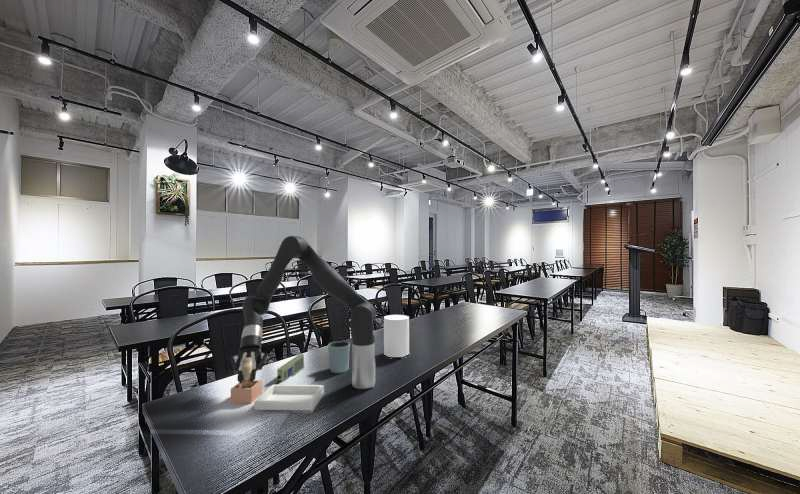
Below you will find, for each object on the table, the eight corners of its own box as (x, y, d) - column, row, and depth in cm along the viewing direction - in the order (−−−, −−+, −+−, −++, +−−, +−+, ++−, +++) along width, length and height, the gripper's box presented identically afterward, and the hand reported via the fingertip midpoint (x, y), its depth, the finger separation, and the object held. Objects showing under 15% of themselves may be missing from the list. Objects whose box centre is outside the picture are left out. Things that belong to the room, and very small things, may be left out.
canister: (382, 358, 156) (382, 319, 156) (385, 350, 169) (385, 314, 170) (409, 358, 155) (408, 319, 156) (409, 350, 169) (409, 314, 169)
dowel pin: (253, 395, 113) (253, 357, 113) (248, 399, 110) (249, 360, 110) (245, 395, 113) (245, 357, 113) (240, 399, 110) (240, 360, 110)
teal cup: (343, 375, 135) (343, 348, 135) (323, 372, 138) (323, 345, 138) (353, 366, 144) (353, 341, 145) (335, 364, 148) (335, 339, 148)
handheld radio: (305, 367, 144) (276, 391, 119) (299, 367, 145) (268, 391, 120) (304, 353, 144) (275, 374, 120) (298, 353, 145) (267, 374, 120)
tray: (323, 394, 116) (323, 385, 116) (312, 413, 102) (312, 402, 102) (272, 393, 117) (272, 384, 117) (254, 412, 103) (254, 402, 103)
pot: (261, 396, 115) (262, 380, 115) (251, 406, 107) (251, 389, 108) (242, 395, 115) (242, 380, 115) (230, 405, 108) (230, 388, 108)
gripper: (230, 335, 117) (222, 379, 105) (269, 332, 121) (266, 374, 109) (233, 345, 122) (225, 388, 110) (271, 342, 126) (267, 383, 114)
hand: (246, 381), depth 110 cm, fingers closed on dowel pin, 3 cm apart
